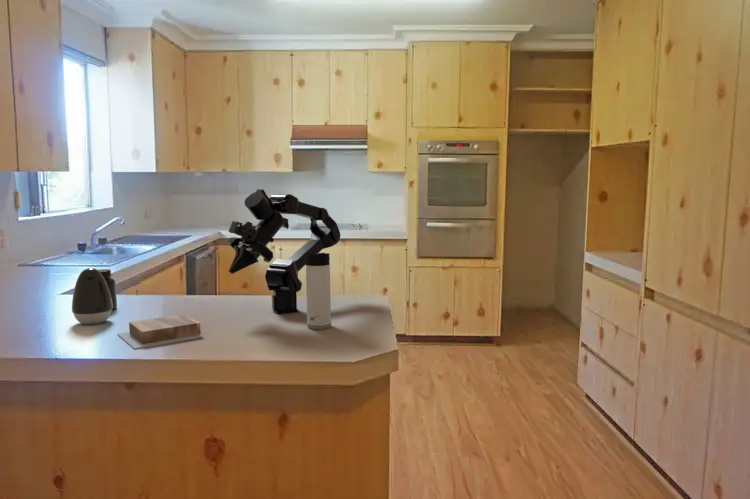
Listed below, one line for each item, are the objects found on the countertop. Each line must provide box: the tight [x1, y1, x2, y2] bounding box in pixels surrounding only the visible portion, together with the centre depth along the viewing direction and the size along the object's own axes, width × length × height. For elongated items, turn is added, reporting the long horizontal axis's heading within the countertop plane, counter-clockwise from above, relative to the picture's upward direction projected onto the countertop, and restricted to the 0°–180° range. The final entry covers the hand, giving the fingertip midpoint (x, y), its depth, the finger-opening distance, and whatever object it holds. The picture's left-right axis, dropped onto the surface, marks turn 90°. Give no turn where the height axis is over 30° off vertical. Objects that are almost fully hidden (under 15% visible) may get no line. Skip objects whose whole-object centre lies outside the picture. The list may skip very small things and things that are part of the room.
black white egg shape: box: [71, 267, 113, 326], centre depth 161 cm, size 10×10×15 cm
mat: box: [116, 331, 203, 350], centre depth 147 cm, size 16×16×1 cm
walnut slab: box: [128, 313, 202, 344], centre depth 148 cm, size 3×12×14 cm
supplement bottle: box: [97, 268, 118, 311], centre depth 178 cm, size 7×7×12 cm
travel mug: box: [305, 252, 332, 331], centre depth 154 cm, size 6×7×20 cm
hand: (230, 272), depth 160 cm, fingers closed
